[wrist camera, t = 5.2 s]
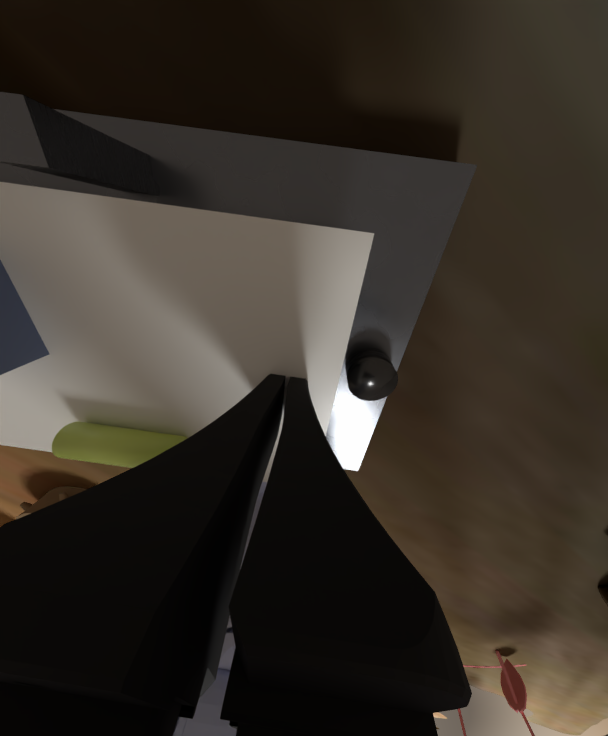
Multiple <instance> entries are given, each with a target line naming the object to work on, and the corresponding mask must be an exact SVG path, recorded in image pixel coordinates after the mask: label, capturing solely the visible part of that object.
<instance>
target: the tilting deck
mask: <svg viewBox="0 0 608 736" xmlns="http://www.w3.org/2000/svg"><path fill="white" fill-rule="evenodd" d="M373 237H374V233H368V232H361V231H354V230H346V229H339V228H332V227H325V226H317V225H310V224H303V223H296V222H288V221H281V220H274V219H267V218H259V217H252V216H245V215H238V214H230V213H223V212H216V211H209V210H201V209H194V208H187V207H180V206H172V205H165V204H158V203H151V202H144V201H136V200H129V199H122V198H115V197H107V196H100V195H93V194H86V193H78V192H71V191H64V190H57V189H49V188H42V187H35V186H28V185H20V184H13V183H6V182H0V445H6V446H13V447H20V448H27V449H34V450H41V451H48V452H53V454H54V455H55V456H56V457H59V458H65V459H72V460H79V461H86V462H94V463H101V464H108V465H115V466H122V467H129V468H134V467H136V466H138V465H140V464H142V463H144V462H146V461H148V460H150V459H152V458H154V457H155V456H157V455H159V454H161V453H162V452H164V451H166V450H168V449H170V448H171V447H173V446H175V445H177V444H179V443H180V442H182V441H184V440H185V439H187V438H189V437H190V436H192V435H194V434H195V433H197V432H198V431H200V430H201V429H203V428H204V427H206V426H207V425H209V424H210V423H212V422H213V421H215V420H216V419H217V418H219V417H220V416H221V415H223V414H224V413H225V412H227V411H228V410H229V409H230V408H232V407H233V406H234V405H236V404H237V403H238V402H239V401H240V400H242V399H243V398H244V397H245V396H246V395H247V394H249V393H250V392H251V391H252V390H253V389H254V388H255V387H256V386H257V385H258V384H259V383H260V382H261V381H263V380H264V379H265V378H266V377H267V376H268V375H269V374H277V375H284V376H286V377H285V388H284V399H283V410H282V418H281V422H280V427H279V432H278V436H277V439H276V442H275V445H274V448H273V451H272V454H271V457H270V460H269V463H268V466H267V469H266V472H265V475H264V478H263V481H262V482H267V481H268V478H269V474H270V471H271V467H272V464H273V460H274V456H275V453H276V449H277V445H278V442H279V438H280V434H281V430H282V425H283V418H284V409H285V400H286V391H287V384H288V381H289V379H290V376H291V377H298V378H305V379H306V380H307V381H308V388H309V393H310V396H311V400H312V403H313V406H314V409H315V412H316V415H317V418H318V420H319V423H320V425H321V427H322V429H323V432H324V434H325V436H326V433H327V429H328V425H329V420H330V416H331V412H332V408H333V404H334V400H335V395H336V391H337V387H338V383H339V379H340V375H341V370H342V366H343V362H344V358H345V354H346V350H347V345H348V341H349V337H350V333H351V329H352V325H353V320H354V316H355V312H356V308H357V304H358V300H359V295H360V291H361V287H362V283H363V279H364V275H365V270H366V266H367V262H368V258H369V254H370V250H371V245H372V241H373Z"/></svg>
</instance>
